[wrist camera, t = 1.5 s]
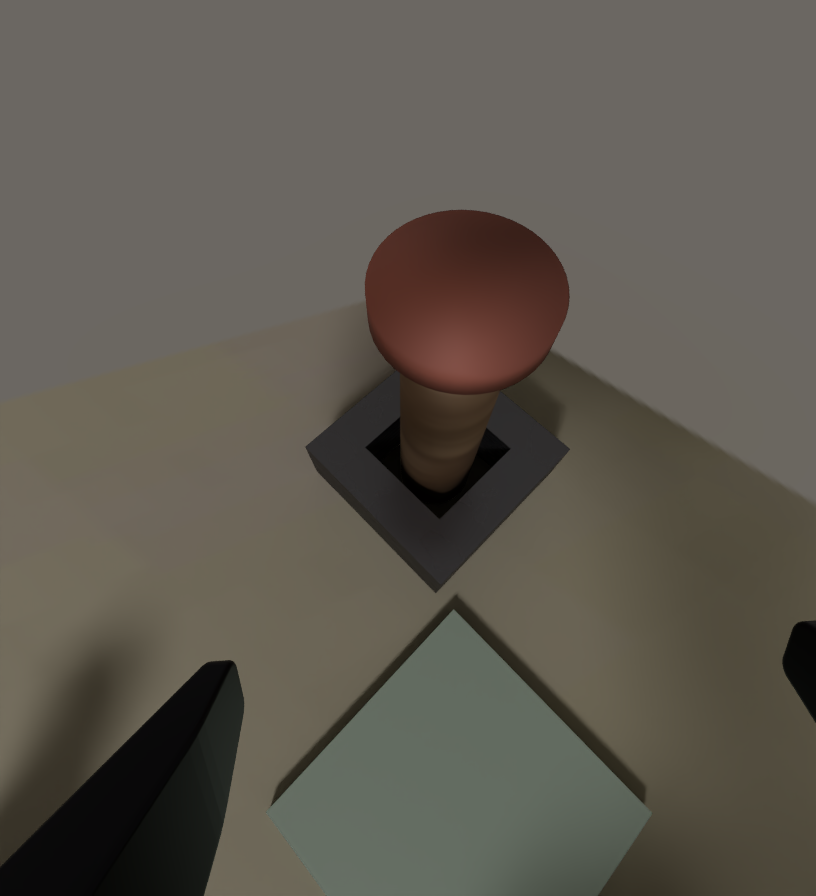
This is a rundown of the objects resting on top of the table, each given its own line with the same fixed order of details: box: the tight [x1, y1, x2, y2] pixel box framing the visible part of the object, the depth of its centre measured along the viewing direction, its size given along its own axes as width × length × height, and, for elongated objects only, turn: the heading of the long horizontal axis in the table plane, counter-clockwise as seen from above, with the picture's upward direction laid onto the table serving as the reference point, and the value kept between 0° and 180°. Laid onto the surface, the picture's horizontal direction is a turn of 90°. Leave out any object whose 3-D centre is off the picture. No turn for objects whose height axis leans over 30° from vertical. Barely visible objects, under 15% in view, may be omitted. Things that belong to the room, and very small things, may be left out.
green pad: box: [266, 609, 652, 896], centre depth 18 cm, size 10×10×1 cm
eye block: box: [306, 370, 570, 593], centre depth 22 cm, size 8×8×3 cm
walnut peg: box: [365, 210, 569, 504], centre depth 17 cm, size 5×5×13 cm
